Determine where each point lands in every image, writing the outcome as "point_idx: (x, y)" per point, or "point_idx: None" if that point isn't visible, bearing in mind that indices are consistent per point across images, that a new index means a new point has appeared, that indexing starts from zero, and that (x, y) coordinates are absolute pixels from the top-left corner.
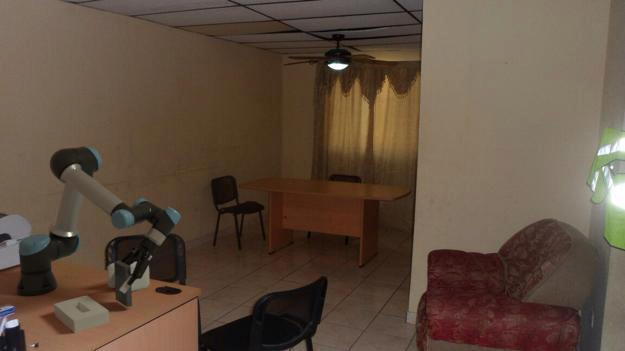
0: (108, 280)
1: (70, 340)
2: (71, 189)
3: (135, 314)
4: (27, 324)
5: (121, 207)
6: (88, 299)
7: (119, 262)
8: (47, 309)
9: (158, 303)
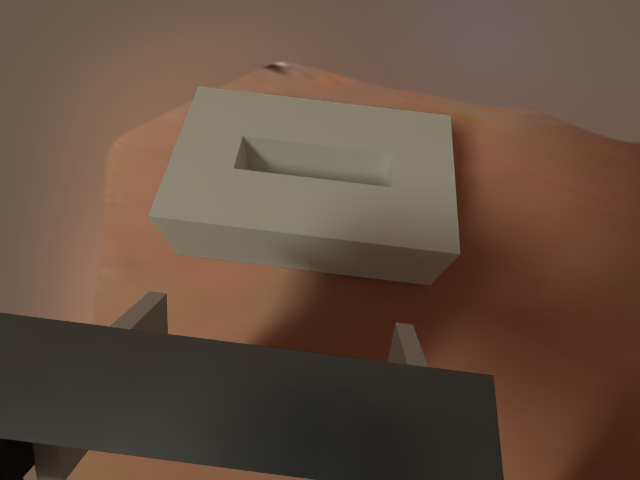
0: (413, 336)
1: None
2: None
3: None
4: (444, 101)
5: None
6: (387, 229)
7: (353, 416)
8: (545, 186)
9: None
